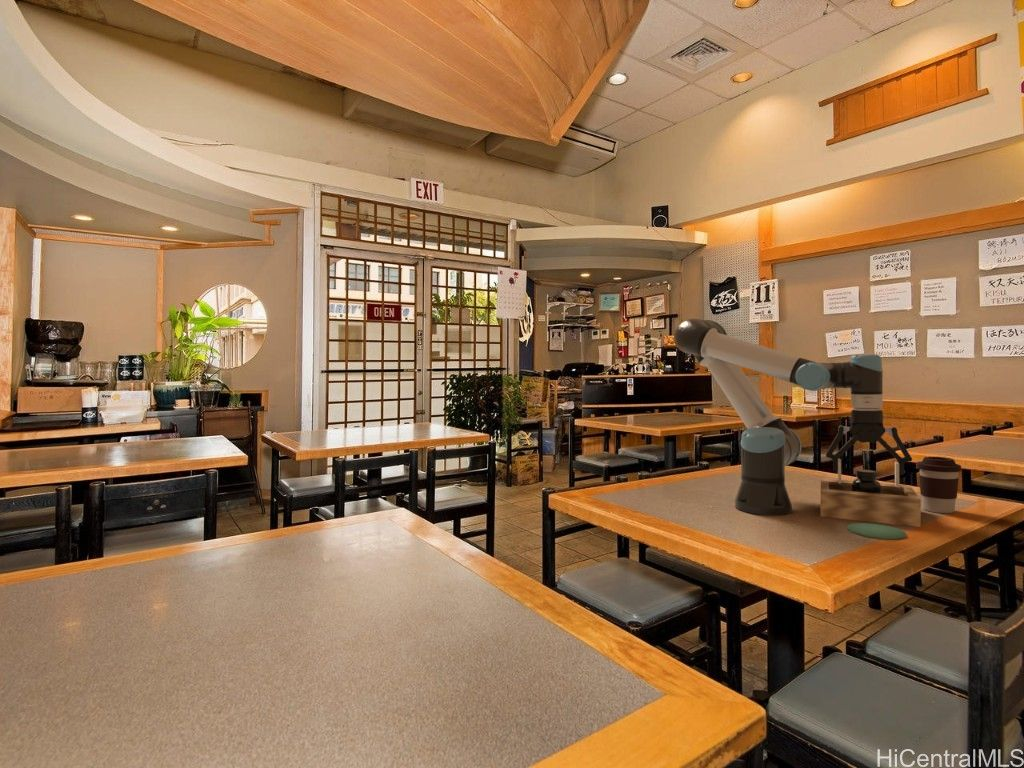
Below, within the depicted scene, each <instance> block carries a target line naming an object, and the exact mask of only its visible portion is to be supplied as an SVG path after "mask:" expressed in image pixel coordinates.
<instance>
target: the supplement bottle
mask: <svg viewBox="0 0 1024 768" xmlns="http://www.w3.org/2000/svg"><path fill="white" fill-rule="evenodd" d="M877 474H878V473H877V470H876V471H875V470H870V469H856V474H855V477H856V479H854V480H852V481H853V482H852V491H854V492H866V493H878V494H881V485H880V482H879V481H878V480H877V479H878V478H877V477H878V475H877Z"/></svg>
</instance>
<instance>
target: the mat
mask: <svg viewBox="0 0 1024 768" xmlns="http://www.w3.org/2000/svg"><path fill="white" fill-rule="evenodd" d="M847 530H848V531H849V532H850V533H852V534H855V535H857V536H860V537H861V536H862V537H865V538H870V539H877V540H886V541H888V540H891V541H892V540H893V541H896V540H897V541H899V540H903V539H906V537H907V534H906V531H904V530H903V529H900V528H897V527H894V526H889V525H886V524H881V523H880V524H879V523H872V522H871V523H870V522H869V523H867V522H858V523H851V524H849V525H847Z"/></svg>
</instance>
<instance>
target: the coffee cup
mask: <svg viewBox="0 0 1024 768" xmlns="http://www.w3.org/2000/svg"><path fill="white" fill-rule="evenodd" d="M916 468H917V469H919V475H918V476H919V478H918V479H919V490H920V491H919V492H920V495H921V507H922V509H923V510H925V511H928V512H931V513H937V514H952V513H955V511H956V501H957V498H958V490H959V480H960V479H959V472H962V465H960V464H958V463H956V461H955V459H954V458H949V457H943V456H924V457H923V459H922V460H920V461H917V462H916Z"/></svg>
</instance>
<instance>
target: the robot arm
mask: <svg viewBox="0 0 1024 768" xmlns="http://www.w3.org/2000/svg"><path fill="white" fill-rule="evenodd" d="M673 339H674V343H675V345H676V347H677V348H678V349H679V351H681V352H683V353H685V354H687V355H688V354H689V355H693V356H694V358H695V360H696V361H697V362H698V364H699V366H701V367H706V368H707V369H708V371H709V372H710V374H711V376H712V377H713V378H714V380H715V381H716V383H717V384H718V386H719V387H720V389H721V390H722V393H724V395H725V397H726V398H727V400H728V401H729V402H730V404H731V406H732V407H733V409H734V410H735V412H736V413H737V415H738V416H739V417H740V419H741V421H742V422H743V424H744V426H745V428H747V429H745V430H744V431H743V432H742V433H741V440H740V460H741V462H740V466H741V467H740V471H741V473H740V474H741V477H740V478H741V482H740V485H739V487H738V489H737V493H736V496H735V500H734V507H735V508H736V509H737V510H739V511H742V512H746V513H749V514H755V515H763V516H782V515H788V514H790V513H792V512H793V511H792V509H793V508H792V507H793V506H792V501H791V498H790V495H789V492H788V490H787V486H786V480H785V479H786V466H789V465H791V464H793V463H794V462H795V461H796V460H797V459H798V458H799V456H800V454H801V451H802V441H801V438H800V437H799V435H798V434H797V433H796V432H795V431H794V430H793V429H791V428H788V426H787V425H786V424H785V422H784V421H783V419H782V418H781V416H778V415H774V414H773V413H772V412H771V411H770V409H769V407H768V406H767V405H766V403H765V402H764V400H763V398H762V397H761V395H760V394H759V393H758V391H757V390H756V389H755V387H754V385H753V384H752V383H751V381H750V380H749V378H748V377H747V375H746V374H745V372H744V371H743V369H742V368H745V369H748V370H751V371H754V372H757V373H760V374H763V375H767V376H769V377H773V378H775V379H779V380H781V381H785V382H788V383H791V384H793V385H795V386H799V387H800V388H802V389H804V390H805V391H806V390H807V391H810V392H817V391H820V390H826V389H850V408H852V410H851V411H850V424H851V425H850V426H843V425H839V426H838V430H837V431H838V432H837V434H836V436H835V438H834V439H833V441H832V443H831V444H830V446H829V448H828V450H827V451H826V453H825V456H826V458H828V459H831V460H832V463H833V464H832V467H833V468H832V469H833V471H834V472H837V480H838V483H840V484H841V480H842V460H841V459H840V458H841V457H842V456H843V455H844V454H845V453H846V452H847V451H848V450H849V449H850V448H851V447H853V446H854V444H856V443H857V442H860V443H870V444H871V443H872V444H875V443H876V442H878V443H879V444H880V445H881V446H882V447H883V448H884V449H885V450H886V451H887V452H888V453H889V454H891V456H892V457H893V458H894V459H895V460H896V461H894V484H895V486H896V487H899V485H900V476H903V475H904V474H905V463H908V462H912V461H913V457H912V456H911V454H910V452H909V451H908V449H907V448H906V446H905V445H904V443H903V441H902V440H901V438H900V436H899V435H898V429H897V427H896V426H891V427H884V411H882V410H881V409H883V407H884V405H883V403H884V401H883V398H884V397H883V385H884V384H883V383H884V382H883V377H884V375H883V373H884V370H883V364H882V361H883V360H882V357H881V356H880V355H879V354H854V355H851V356H850V359H849V361H846V362H845V361H844V362H816V361H814V360H810V359H807V358H802V357H799V356H796V355H793V354H790V353H785V352H783V351H779V350H776V349H773V348H769V347H766V346H763V345H760V344H756V343H754V342H750V341H746V340H743V339H741V338H740V339H739V338H737V337H733V336H730V335H728V334H727V331H726V329H725V328H724V326H723V325H721V324H720V323H719V322H717V321H714V320H710V319H699V318H687V319H685V320H683V321H682V322H680V323H679V324H678V325H677V327H675V331H674V335H673ZM847 432H849V433H851V435H852V436H851V438H849V440H848V441H847V442H846V443H844V445H843V446H842V447H841V448H840V449H839V450H838V451H837V452H836V453H834V452H835V450H836V448H837V446H838V445H839V443H840V441H841V440H842V438H843V436H844V435H846V434H847ZM885 433H888V435H889V436H892V438H893V440H894V441H895V443H896V444H897V447H898V448H899V450H900V451H901V453H902V454H903V457H901V455H899V453H897V451H895V449H893V448H892V447H891V446H890V445H889V444H888V443H887V442H886V441H885V440H884V439H883V438H882V437H883V436H884V434H885Z"/></svg>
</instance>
